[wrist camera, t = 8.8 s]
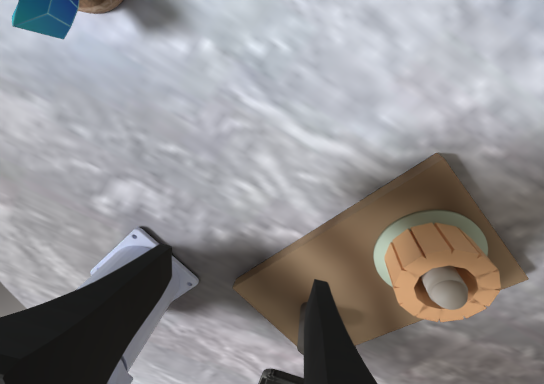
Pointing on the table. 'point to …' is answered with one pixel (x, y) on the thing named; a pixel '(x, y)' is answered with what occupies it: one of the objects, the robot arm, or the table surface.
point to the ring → (432, 254)
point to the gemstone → (55, 14)
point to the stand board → (374, 257)
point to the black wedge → (279, 378)
